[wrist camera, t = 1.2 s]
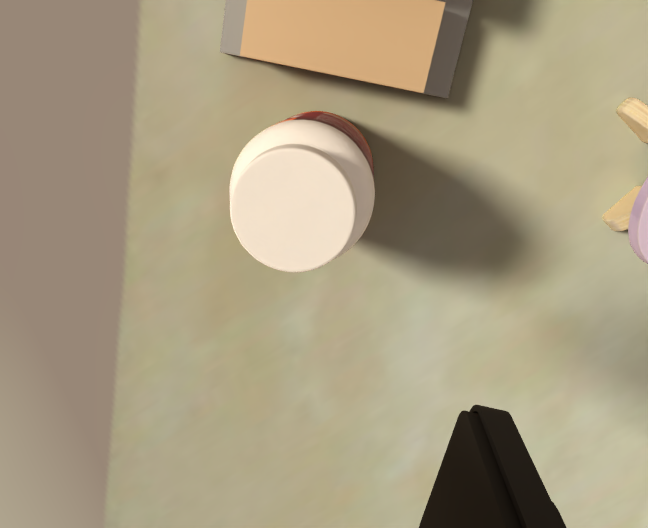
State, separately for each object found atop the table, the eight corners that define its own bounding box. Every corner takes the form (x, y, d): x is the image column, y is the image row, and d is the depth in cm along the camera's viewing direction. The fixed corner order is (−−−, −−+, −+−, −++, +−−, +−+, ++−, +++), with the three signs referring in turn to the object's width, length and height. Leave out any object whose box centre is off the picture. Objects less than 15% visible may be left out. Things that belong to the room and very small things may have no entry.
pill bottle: (297, 87, 28) (259, 87, 18) (394, 148, 29) (413, 183, 18) (243, 185, 30) (181, 237, 20) (335, 240, 31) (322, 319, 20)
